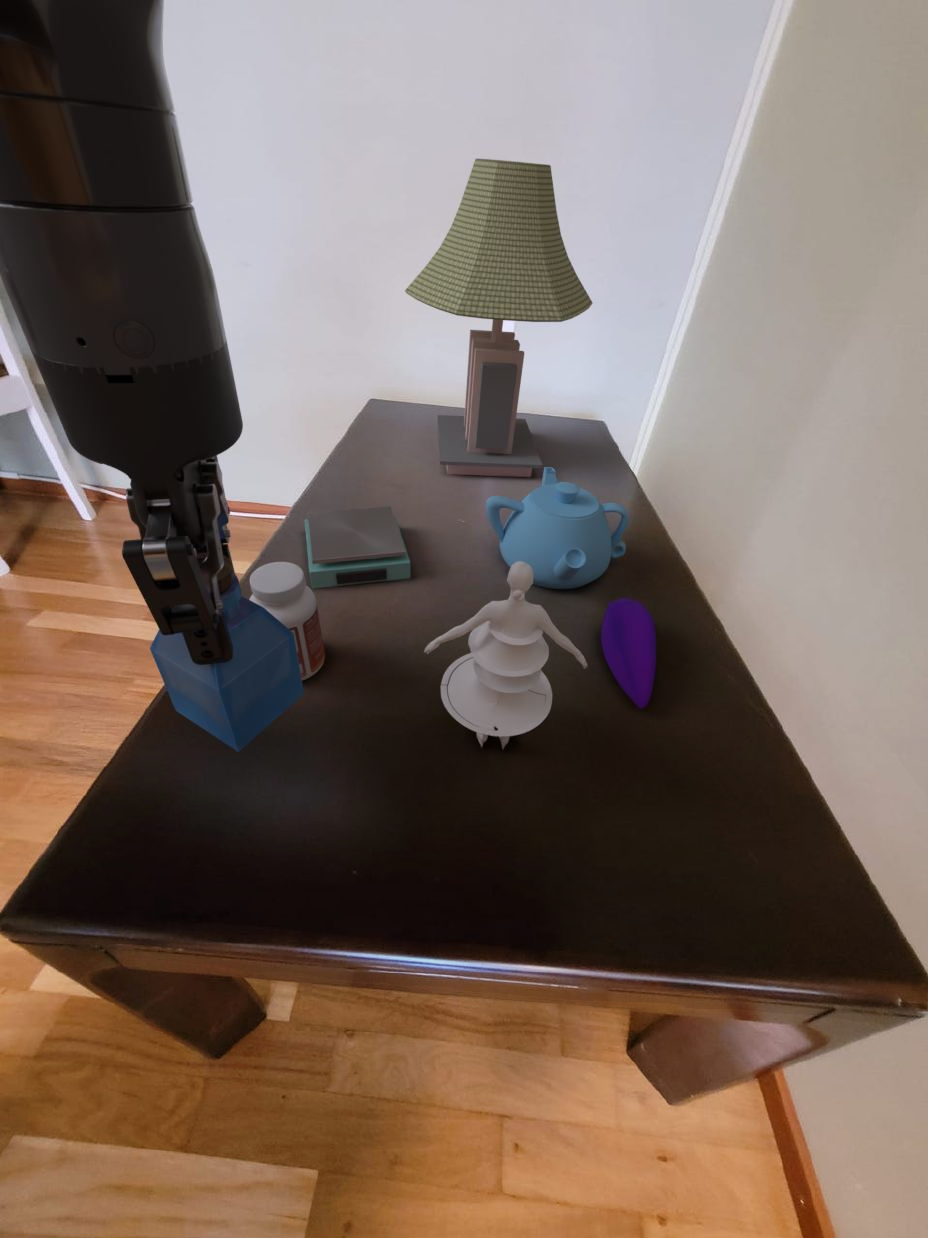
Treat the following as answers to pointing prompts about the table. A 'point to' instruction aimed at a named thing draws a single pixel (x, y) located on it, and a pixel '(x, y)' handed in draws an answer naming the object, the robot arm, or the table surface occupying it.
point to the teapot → (558, 533)
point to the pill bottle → (291, 609)
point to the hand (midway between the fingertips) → (218, 624)
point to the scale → (357, 569)
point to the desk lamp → (499, 306)
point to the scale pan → (354, 535)
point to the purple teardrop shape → (630, 647)
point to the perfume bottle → (234, 670)
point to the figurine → (503, 664)
